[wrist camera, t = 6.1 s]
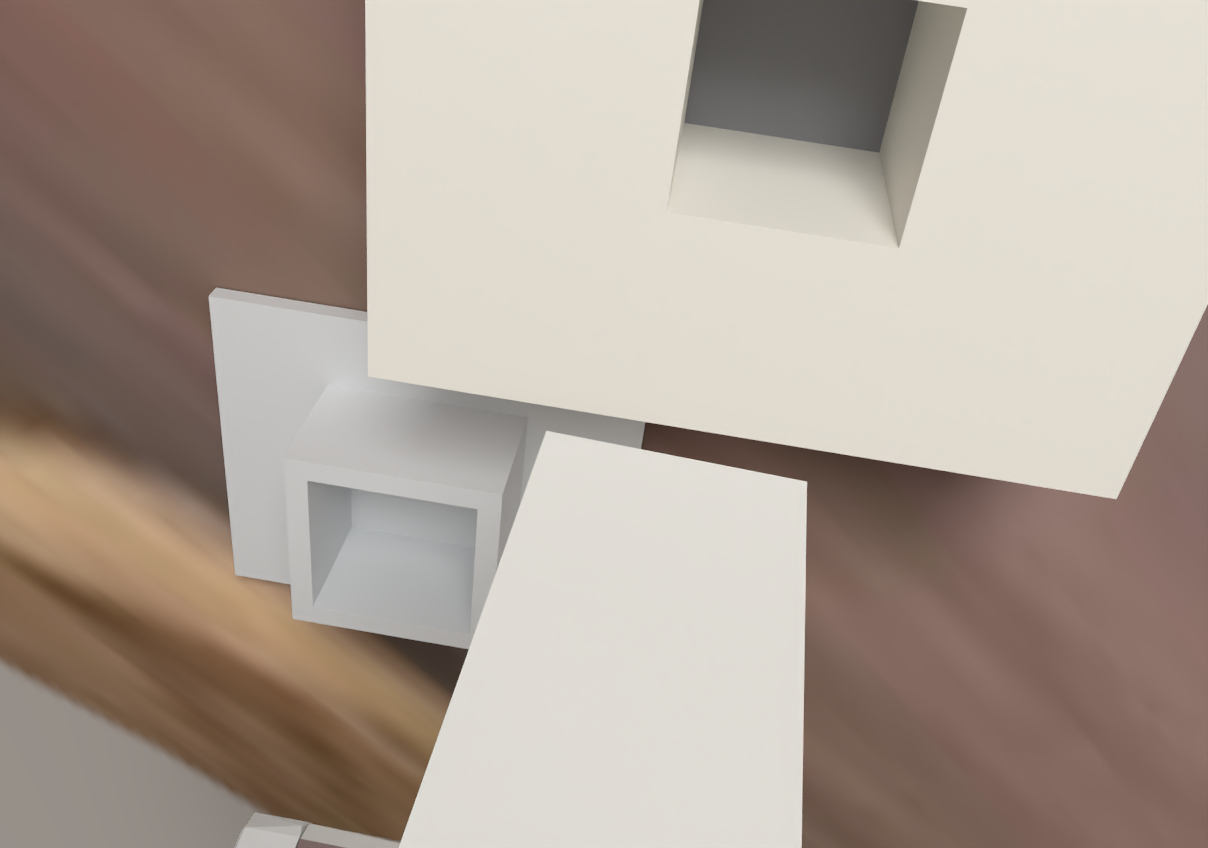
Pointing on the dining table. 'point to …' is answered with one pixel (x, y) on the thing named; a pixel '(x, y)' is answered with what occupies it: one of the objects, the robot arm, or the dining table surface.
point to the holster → (369, 472)
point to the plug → (631, 664)
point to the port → (799, 218)
